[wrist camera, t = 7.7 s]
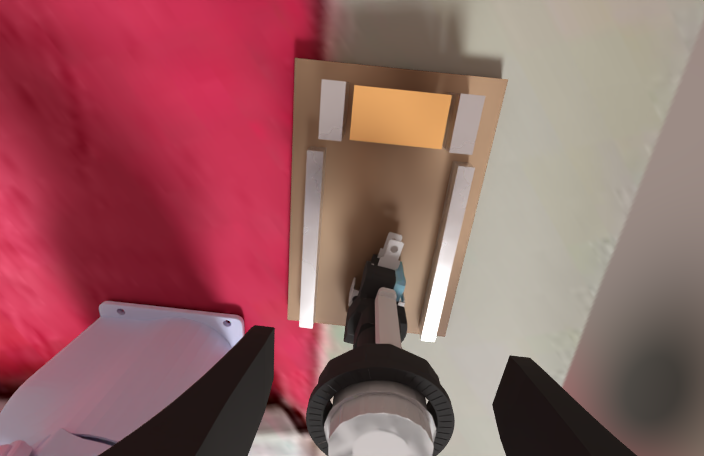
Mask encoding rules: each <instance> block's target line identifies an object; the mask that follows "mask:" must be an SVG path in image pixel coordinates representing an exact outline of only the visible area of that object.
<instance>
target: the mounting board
mask: <svg viewBox="0 0 704 456" xmlns="http://www.w3.org/2000/svg"><path fill="white" fill-rule="evenodd" d="M322 79H325V80H335V81H344V82H350V84H349V95H348V107H347V119H346V131H345V135H344V137H343V139H342V141H333V140H323V139H318V136H319V118H320V101H321V83H322ZM507 82H508V80H507V79H497V78H488V77H478V76H468V75H458V74H448V73H439V72H429V71H419V70H409V69H399V68H389V67H380V66H370V65H360V64H350V63H340V62H330V61H321V60H311V59H301V58H295V74H294V110H293V145H292V181H291V216H290V252H289V287H288V320H296V321H299V319H300V297H301V274H302V251H303V229H304V206H305V184H306V161H307V150H308V149H309V148H310V147H311V146H315V147H324V148H326V162H325V177H324V193H323V208H322V223H321V239H320V254H319V269H318V285H317V300H316V315H315V320H314V323H323V324H332V325H342V326H345V324H346V316H347V312H348V309H349V306H348V304H349V293H350V288H351V285H352V282H353V279H354V277H355V278H356V279H355V288H354V289H355V290H358V291H359V290H360V286H361V281H362V275H363V270H364V267H365V264H366V261H371V259H372V256H373V254H375V255H378V254H379V251H380V248H382V249H383V248H384V245H385V242H386V239H387V236H388V233H389V232H392V233H396V234H400V235H402V240H401V242H403V243H404V246H403V248H402V251H401V254H400V256H399V259H398V260H399V261H402V265H403V271H404V276H405V279H406V285H405V289H404V298H405V301H404V302H405V304H404V307H405V312H406V318H407V327H408V328H407V333H415V334H420V332H419V323H420V318H421V313H422V308H423V303H424V299H425V294H426V289H427V284H428V279H429V274H430V270H431V265H432V260H433V255H434V250H435V245H436V241H437V236H438V231H439V226H440V221H441V216H442V212H443V207H444V202H445V197H446V192H447V187H448V183H449V178H450V173H451V168H452V163H453V161H459V162H468V163H470V164H471V165H472V166H474V167H475V170H474V175H473V179H472V183H471V188H470V192H469V196H468V200H467V205H466V209H465V213H464V218H463V222H462V226H461V230H460V235H459V239H458V243H457V248H456V252H455V256H454V261H453V265H452V269H451V273H450V278H449V282H448V286H447V291H446V295H445V299H444V303H443V308H442V312H441V316H440V321H439V325H438V329H437V333H436V336H442V337H445V334H446V330H447V326H448V322H449V318H450V314H451V310H452V306H453V302H454V298H455V293H456V289H457V285H458V281H459V277H460V273H461V269H462V265H463V261H464V257H465V253H466V249H467V245H468V241H469V237H470V232H471V228H472V224H473V220H474V216H475V212H476V208H477V204H478V200H479V196H480V192H481V188H482V184H483V180H484V176H485V171H486V167H487V163H488V159H489V155H490V151H491V147H492V143H493V139H494V135H495V131H496V127H497V123H498V119H499V114H500V110H501V106H502V102H503V98H504V94H505V90H506V86H507ZM354 85H360V86H369V87H379V88H389V89H399V90H408V91H418V92H428V93H438V94H448V92H452V93H462V94H471V95H481V96H485V101H484V105H483V110H482V114H481V118H480V123H479V127H478V132H477V136H476V140H475V145H474V149H473V154H472V155H468V154H458V153H449V152H448V151H447V150H446V149H444V148H443V147H442V149H433V148H423V147H413V146H404V145H394V144H384V143H375V142H365V141H356V140H349V139H350V128H351V117H352V106H353V95H354ZM394 240H396V239H394ZM400 302H401V299H400Z"/></svg>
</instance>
